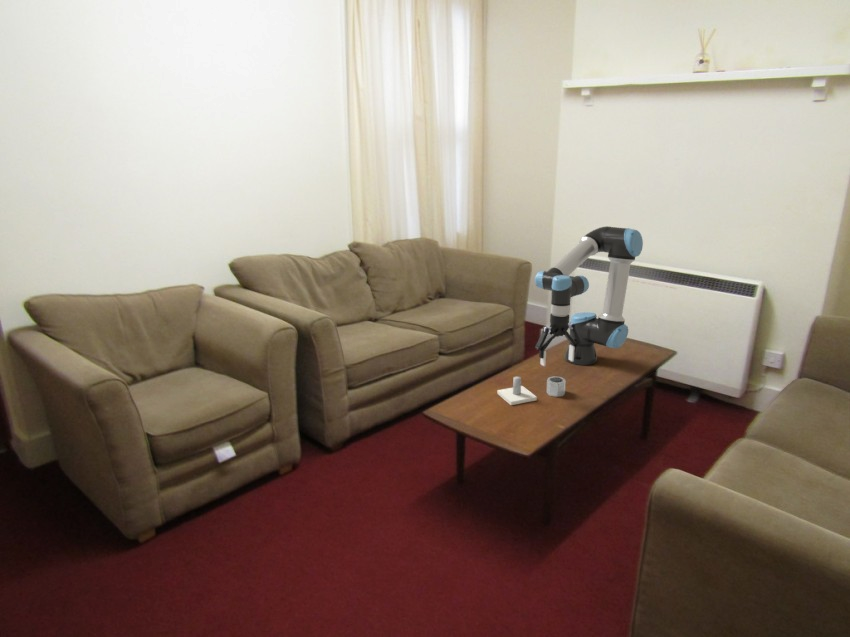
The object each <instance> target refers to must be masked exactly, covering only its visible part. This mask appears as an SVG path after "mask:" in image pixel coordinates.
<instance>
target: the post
mask: <svg viewBox="0 0 850 637" xmlns="http://www.w3.org/2000/svg"><path fill="white" fill-rule="evenodd" d="M512 379H513V380H512V381H513V383H512V387H507V388H502V389H497V391H496V392H497V395H498V396H500V398H502V399H503V400H504V401H505V402H507V404H509V405H510V406H513V405H519V404H520V405H521V404H524V403H530V402H534V401H538V399H537V398H538V396H536V395H535V394H534V393H533V392H531V391H530V390H528V389H527V388H526V387H525V386H523V385H522V377H521V376H513V378H512Z"/></svg>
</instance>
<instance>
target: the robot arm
mask: <svg viewBox="0 0 850 637" xmlns="http://www.w3.org/2000/svg"><path fill="white" fill-rule="evenodd" d="M643 245H644V240H643V236H642V234H641V232H640V231H639V230H637V229H634V228H633V229H632V228H629V227H628V228H626V227H615V226H614V227H613V226H602V227H598V228H596V229H593V230H591V231H589V232H588V233H586V234H584V236H582V237H581V238H580V239H579V242H578V243H577V245H575V247H573V248H572V249H571V250H570V251H569V252H568V253H567V254H565V255H564V256H563V257H562V258H561V259H560V260H559V261H557V262H556V263H555V264H554V265H552V267H551V268H550V269H548V270H540V271H538V272H537V273H536V275H535V276H534V283H535V287H536V288H538V289H542V290H545V291H551V300H550V315H549V316H550V317H549V318H550V319H549V322H550V325H549V326H543V327H542V332H541V334H540V336H539V338H538V340H537V342H536V344H535V347H534V348H535V349H536V350H537V351H538V352H539V354H538V357H539V358H540V360H539V361H540V362H539V364H540V365H541V366H543V367H546V359H547V351H546V349H547V348H548V346H549V345H550V344H551V342H552V341H553V339H555V338H557V337H563V336H564V337H565V338H566V340H567V341H568V345H567V348H566V351H565V352H564V360H565V361H566V362H568V363H570V364H573V365H578V366H588V365H594V364H595V363H596V362H597V360H598V355H597V351H596V348H595V344H597V345H599V346H603V347H607V348H611V349H618V348H620V347H621V346H623V344H625V342H626V340H627V338H628V335H629V327H628V325H626V324H625V321H626V319H625V318H624V316H623V314H624V305H625V300H626V293H627V288H628V282H629V281H628V280H629V276H630V275H629V274H630V269H631V264H632V263H633V262H634V261H635V260H636V257H639V256H640V255H641V253H642V251H643ZM598 253H607V258H608V259H609V261H610V262H609V263H610V264H609V270H608V276H607V283H606V288H605V295H604V302H603V306H602V307H603V308H602V312H601V314H599V315H598V318H597V314H596V313H594V312H589V311H587V312H586V311H585V312H578V313H574V314H572V315H571V317H570V312H571V311H570V310H571V300H572V299H571V298H573V297H575V296H579V295H582V294H584V293H586V292H587V291H588V290H589V287H590V283H589V280H588V278H587V277H586V276H584V275H575V276H573V275H572V276H571V274H572V273H573V272H574V271H576V269H577V268H578V267H580V266H581V265H582V264H583V263H585V262H586V261H587V259H590V257H592V256H595V255H597V254H598ZM568 330H569V332H568Z"/></svg>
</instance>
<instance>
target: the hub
mask: <svg viewBox="0 0 850 637" xmlns="http://www.w3.org/2000/svg"><path fill="white" fill-rule="evenodd" d="M566 382H567V381H566V379H565V378H563V376H556V375H555V376H554V375H553V376H549V377H548V378H547V379H546V394H547V395H548V396H549V397H550V396H551V397H556V398H558V397H563V396H565V394H566V384H567V383H566Z"/></svg>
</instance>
